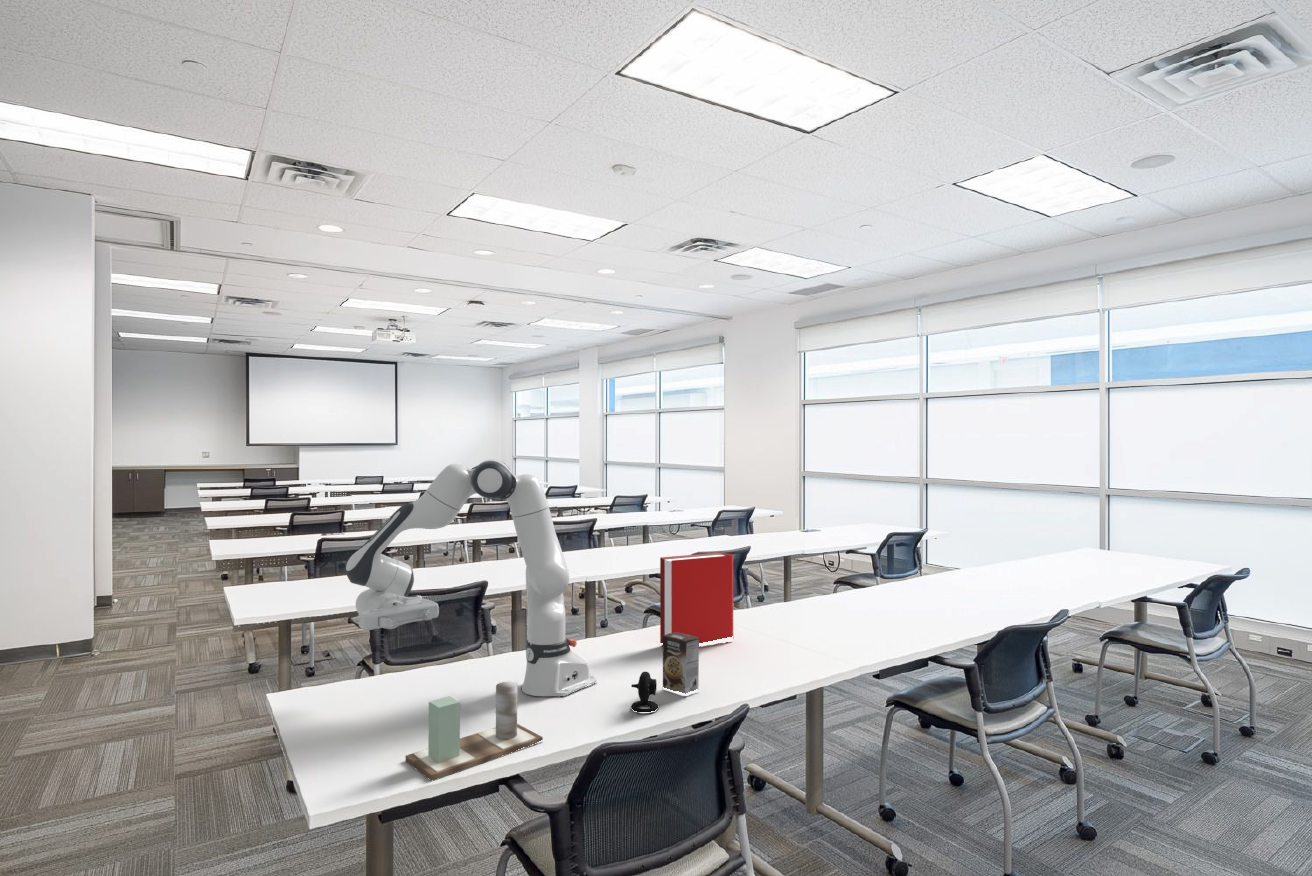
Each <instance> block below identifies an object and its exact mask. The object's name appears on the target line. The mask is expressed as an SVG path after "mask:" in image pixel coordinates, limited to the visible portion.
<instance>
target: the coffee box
mask: <svg viewBox="0 0 1312 876" xmlns="http://www.w3.org/2000/svg"><path fill="white" fill-rule="evenodd" d="M699 655H700V648H699V637H695V636H691V635H687V634H683V633H679V632H674V633H669V634H666V635H663V646H662V688H663V687H664V688H667V689H670V690H673V691H679V692H682V693H685V694H686V693H688V692H690V691H694V690H696V689H698V690H699V686H700V685H699V681H700V680H699V674H700V673H699V671H700V670H699V663H700V662H699V661H700V656H699Z"/></svg>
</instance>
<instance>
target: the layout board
mask: <svg viewBox="0 0 1312 876" xmlns="http://www.w3.org/2000/svg"><path fill="white" fill-rule="evenodd" d="M543 738H544V737H543V736H541V735H539V733H536V732H534V731H532V730H530V729H528V728H527V727H524V726H522V725H521V724H519V723H518V683H517V682H515V681H502V682H498V683H497V684H496V685H495V727H492V728H490V729H486V730H483V731H479V732H477V733H474V734H470V735H467V736H463V737H460V756H458V757H455V758H452V759H449V760H446V761H443V762H440V763H438V762H436V761H435V760H434V759H432V758H431V757H430V756H428V748H425V749H421V750H419V751H415V752H413V753H409V754H406V755H405V762H406V763H408V765H409V766H411V767H412V768H414V769H415V768H416V769H417V770H416V769H415V770H416V771H418V772H419V773H420V774H422V775H423V776H424V775H425V776H426V778H427V779H428V778H429V779H430V780H429V779H428V780H429V781H431V782H432V780H433V781H435V780H434V779H436V780H438V778H439V779H441V777H442V778H444V777H443V776H445V777H447V776H446V775H448V776H449V775H450V776H451V775H453V774H456V773H459V772H461V771H464V770H468V769H470V768H473V767H475V766H479V765H481V764H484V763H488V762H490V761H494V760H496V759H499V758H502V757H503V756H502V755H505V754H508V755H509V753H510V754H512V753H511V752H513V753H515V752H514V751H516V750H518V749H521V748H523V747H528V746H530V745H532V744H535V743H537V742H539V741H541V740H543ZM530 747H531V746H530ZM528 748H529V747H528ZM516 752H517V751H516ZM501 756H502V757H501ZM505 756H506V755H505ZM498 757H499V758H498ZM425 776H424V777H425Z"/></svg>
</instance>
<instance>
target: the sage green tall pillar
mask: <svg viewBox="0 0 1312 876" xmlns="http://www.w3.org/2000/svg"><path fill="white" fill-rule="evenodd" d="M460 724H461V701H459V700H457V699H455V698H454V697H452V696H445V697H441V698H438V699H434V700H431V701H428V738H427V739H428V742H427V743H428V748H427V749H428V756H430V757H431V758H432V759H434V760H435V761H436V762H438V763H440V762H443V761H446V760H449V759H452V758H455V757H458V756H460V738H461V737H460V736H461V735H460V734H461V732H460V731H461V725H460Z"/></svg>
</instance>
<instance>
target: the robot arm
mask: <svg viewBox="0 0 1312 876" xmlns="http://www.w3.org/2000/svg"><path fill="white" fill-rule="evenodd" d="M476 494H478V495H479V496H481V497H482V498H486V499H488V500H489V499H490V500H493V499H494V500H495V499H496V500H497V499H498V500H506V502H507V504H508V505H509V506H508V507H509V509H510V513H511V518H512V522H513V526H514V529H515V533H516V537H517V540H518V544H519V547H520V550H521V554H522V556H523V559H524V563H525V566H526V567H525V590H526V605H527V606H526V607H527V640H526V643H525V644H526V645H525V655H526V657H525V658H526V666H525V667H526V668H525V674H524V679H523V683H522V687H521V691H522V693H524V694H526V695H530V696H534V697H560V696H564V697H566V696H565V695H567V694H569V693H571V692H573V691H577V690H579V689H581V688H583V687H585V686H587V685H588V684H593V683H595V682H596V681H597V678H596V677H595V676H594V675H592V674H590V672H589V671H590V670H589V667H588V663H587V661H586V660H585V659H584V658H582V657H581V656H579V655H578V654H576V653H575V652H574V651H572V650H571V647H572V648H575V647H577V644H578V641H577V640H576V639H572V638H571V639H568V638H567V637H566V607H565V599H564V593H565V592H566V590H567V588H568V586H569V583H570V573H569V569H568V566H567V563H566V560H565V559H566V558H565V557H564V553H563V550H562V548H561V544H560V541H559V539H558V536H557V533H556V529H555V525H554V522H553V517H552V514H551V509H550V507H549V502H548V498H547V495H546V493H545V491H544V488H543V486H542V484H541V482H540V480H539V479H538V477H537V476H536V475H533V474H525V473H524V474H521V475H517V474H514V473H512V471H511V469H510V467H509V466H508V465H507V464H506V463H505V462H504V461H501V460H500V459H499V460H498V459H495V458H493V459H486V460H483V461H482V462H480V463H479V464H478V465H476V466H474V467H472V468H468V467H467V466H464V465H461V464H457V463H451V464H449V465H447V466H445V467H444V469H442V470H441V471H440V473H439V474H438V475H437V476H436V477H435V478H434V479H433V481H432V482H431V483H430V485H429V486H428V488H427V489H426V490H425V491H424V493H423V494H422V495H421V496H420V497H418V498H417V499H416V500H414V501H412V502H406V503H404V504H402V505H401V506H400V507H399V508H397V510H395V512H393V513H392V514H391V516H389V517H388V519H386V521H385V522H384V523H383V524H382V525H381V526H380V527H378V530H376V531H375V532H374V534H372V535H371V536H370V538H369V539H368V540H367V541H366V542H365V543H364V544H363V545H362V546H360V547H359V548H358V549H357V550H355V552H354V553H352V555H351V556H350V557H349V559H348V560H347V562H346V564H345V569H344V570H345V573H346V577H347V578H348V581H349V582H350V583H351V584H354V585H358V586H361V587H366V588H368V589H365V590H364V591H362V592H360V593H359V594H358V596H357V597H356V600H355V609H356V612H357V614H358V615H356V616H354V617H352V621H353V622H354V623H358V627H359V628H360V629H362V630H363V631H372V630H377V629H378V630H379V629H382V628H383V629H386V630H392V629H396V628H398V627H400V626H403V625H405V624H410V623H413V622H414V623H415V622H420V621H431V620H432V619H436V618H438V617H439V613H440V607H439V603H438V602H435V601H433V600H430V599H426V598H423V597H422V596H421V595H418V594H417V595H413V594H412V595H409V594H410V593H411V590H412V588H413V586H414V582H415V575H414V570H413V568H412V566H411V565H410V564H407V563H405V562H403V561H400V560H399V559H394V558H392V557H390V556H388V555H385V554H384V553H383V551H385V549H386V548H388V547H389V546H390V544H391V543H392V542H393V541H394V540H395V539H396V537H397V536H399V534H401V533H403V532H404V531H407V530H411V529H412V530H413V529H424V530H437V529H441V528H445V527H447V526H448V525H450V524H451V523H452V522H453V521H454V520H455V518H456V517H457V516H458V514H459V513H460V512H461V510H462V508H463V506H464V504H465V503H466V502H467V501H468V499H469V498H471V496H473V495H476ZM595 684H596V683H595ZM593 685H594V684H593ZM581 690H582V689H581ZM579 691H580V690H579ZM577 692H578V691H577ZM567 696H568V695H567Z"/></svg>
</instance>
